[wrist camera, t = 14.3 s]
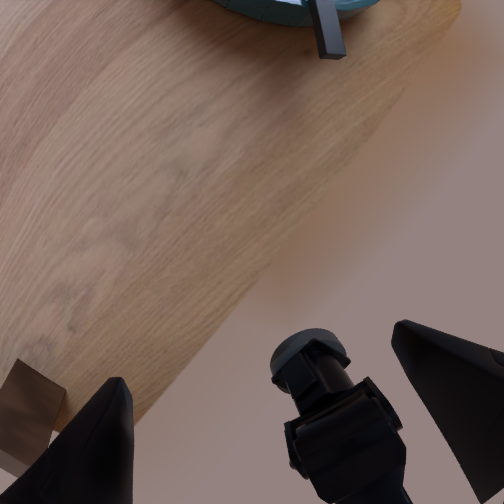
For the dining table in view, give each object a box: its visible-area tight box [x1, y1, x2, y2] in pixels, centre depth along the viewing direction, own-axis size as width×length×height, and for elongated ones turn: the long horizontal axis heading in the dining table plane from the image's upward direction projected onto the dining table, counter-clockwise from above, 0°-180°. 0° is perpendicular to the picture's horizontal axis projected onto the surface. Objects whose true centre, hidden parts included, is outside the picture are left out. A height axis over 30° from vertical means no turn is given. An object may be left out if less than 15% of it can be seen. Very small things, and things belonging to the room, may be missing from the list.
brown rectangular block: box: [0, 359, 66, 478], centre depth 17 cm, size 6×6×10 cm
